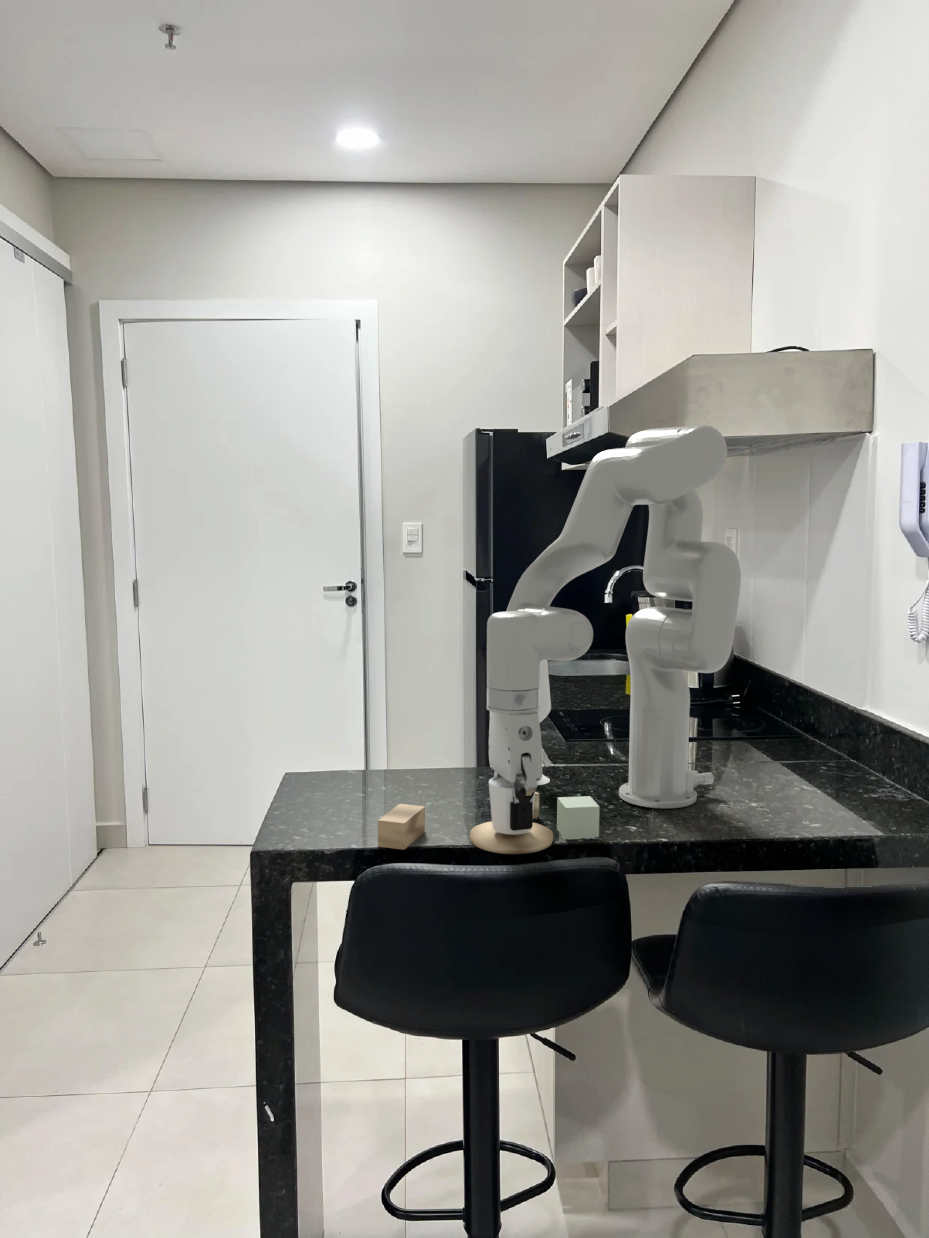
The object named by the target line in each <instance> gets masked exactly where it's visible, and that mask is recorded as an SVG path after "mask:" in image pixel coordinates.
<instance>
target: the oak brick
mask: <svg viewBox="0 0 929 1238" xmlns="http://www.w3.org/2000/svg"><path fill="white" fill-rule="evenodd" d="M425 828H426V806H425V805H414V804H406V803H399V804H397V805H395V807H394V808H392V809H391V810H389V811H388V812H387V813H385V814H384V815H382V816H381V817H380V818H379V819H378V820H377V847H381V848H389V849H397V850H404V851H405V850H406V849H407V848H408V847H409V846H410V845H412V843H414V842H415V841H416V840H417V839H418V838H420V837H421V835H423V834H424V833H425V832H426V829H425ZM424 831H425V832H424ZM423 832H424V833H423ZM422 833H423V834H422Z"/></svg>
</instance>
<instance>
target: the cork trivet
mask: <svg viewBox="0 0 929 1238" xmlns="http://www.w3.org/2000/svg"><path fill="white" fill-rule="evenodd" d="M470 840H471V841H470ZM469 841H470V843H471V842H472V843H473V844H472V843H471V844H472V845H473V846H474V847H476V848H478V849H481V850H483V851H485V852H486V851H487V852H491V853H496V854H501V855H502V854H504V855H522V854H523V855H524V854H532V853H536V852H541V851H542V850H546V849H548V848H549V847H551V846H552V844H553V843H552V842H554V832H553V831H552V830H551V829H550V828H548V827H547V826H545V825H542V824H540V823H537V822H533V826H532V828H531V830H530V831H529V832H527V833H523V834H515V835H513V834H503V833H499V832H496V831H495V830H494V829H493V825H492V820H491V821H486V822H483V823H480V824H478V825H475V826H474V827H472V828H471V829H470V831H469Z"/></svg>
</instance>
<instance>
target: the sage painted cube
mask: <svg viewBox="0 0 929 1238" xmlns="http://www.w3.org/2000/svg"><path fill="white" fill-rule="evenodd" d="M556 802H557V803H556V805H557V806H556V808H557V809H556V830H557V832H558V831H559V832H560V833H561V835H562V836H563V837H564V839H581V838H595V837H599V838H600V805H599V804H598V803H597V802H596V801H595V800H594V799H593V797H591V795H587V796H586V795H584V796H563V797H561V796H560V797H557V799H556ZM559 832H558V833H559ZM560 833H559V834H560ZM561 835H560V836H561ZM562 836H561V837H562ZM563 837H562V838H563ZM564 839H563V840H564Z"/></svg>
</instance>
